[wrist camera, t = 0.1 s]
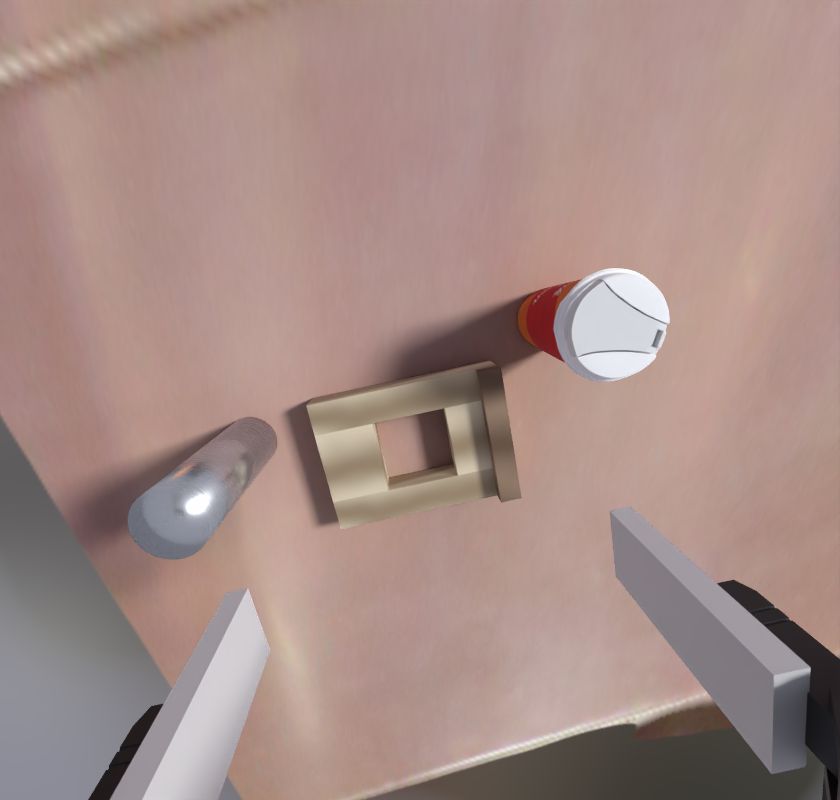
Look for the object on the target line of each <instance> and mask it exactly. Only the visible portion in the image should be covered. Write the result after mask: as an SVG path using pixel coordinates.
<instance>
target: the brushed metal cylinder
mask: <svg viewBox="0 0 840 800" xmlns="http://www.w3.org/2000/svg"><path fill="white" fill-rule="evenodd" d="M276 448H277V437H276V434H275V432H274V430H273V429H272V427H271V426H270V425H269V424H268V423H266V422H265V421H263V420H261V419H258V418H254V417H246V418H242V419H239V420H237V421H236V422H234V423H233V424H232V425H230V426H229V427H228V428H227V429H225V430H224V431H223V432H221V433H220V434H219V435H218V436H216V437H215V438H214V439H212V440H211V441H210V442H209V443H207V444H206V445H205V446H204V447H202V448H201V449H200V450H198V451H197V452H196V453H195V454H193V455H192V456H191V457H189V458H188V459H187V460H186V461H184V462H183V463H182V464H180V465H179V466H178V467H177V468H175V469H174V470H173V471H171V472H170V473H169V474H168V475H166V476H165V477H164V478H163V479H161V480H160V481H159V482H157V483H156V484H155V485H154V486H152V487H151V488H150V489H148V490H147V491H146V492H145V493H143V494H142V495H141V496H139V497H138V498H137V499H136V500H135V501H134V503H133V504H132V505H131V508H130V510H129V513H128V528H129V531H130V534H131V536H132V538H133V539H134V541H135V542H136V543H137V544H138V545H139V546H140V547H141V548H142V549H143V550H145V551H146V552H148V553H150V554H151V555H154V556H156V557H159V558H164V559H182V558H186V557H189V556H191V555H193V554H195V553H196V552H198V551H199V550H200V549H201V548H202V547H203V546H204V544H205V543H206V542H207V540H208V539H209V538H210V537H211V535H212V534H213V533H214V531H215V530H216V529H217V527H218V526H219V525H220V524H221V522H222V521H223V520H224V518H225V517H226V516H227V514H228V513H229V512H230V510H231V509H232V508H233V507H234V505H235V504H236V503H237V501H238V500H239V499H240V497H241V496H242V495H243V494H244V492H245V491H246V490H247V488H248V487H249V486H250V484H251V483H252V482H253V481H254V479H255V478H256V477H257V475H258V474H259V473H260V471H261V470H262V469H263V467H264V466H265V465H266V464H267V462H268V461H269V460H270V458H271V457H272V456H273V454H274V453H275V451H276Z"/></svg>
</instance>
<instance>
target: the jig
mask: <svg viewBox="0 0 840 800" xmlns="http://www.w3.org/2000/svg"><path fill="white" fill-rule="evenodd" d="M306 407H307V411H308V414H309V418H310V422H311V425H312V429H313V432H314V436H315V439H316V443H317V446H318V450H319V453H320V457H321V461H322V464H323V468H324V471H325V475H326V478H327V482H328V485H329V489H330V493H331V496H332V500H333V503H334V507H335V510H336V514H337V517H338V521H339V525H340V528H341V529H344V528H349V527H353V526H358V525H362V524H367V523H372V522H376V521H381V520H385V519H390V518H395V517H399V516H404V515H408V514H413V513H418V512H422V511H427V510H432V509H436V508H441V507H445V506H450V505H455V504H459V503H464V502H468V501H473V500H478V499H482V498H487V497H491V496H496V495H498V497H499V499H500V501H501V502H505V501H509V500H514V499H519V498H521V492H520V486H519V480H518V473H517V467H516V461H515V454H514V448H513V442H512V435H511V429H510V423H509V416H508V410H507V404H506V397H505V391H504V384H503V378H502V372H501V368H500V367H499V366H497V365H496V364H494V363H493V362H491V361H485V362H480V363H476V364H471V365H466V366H462V367H457V368H452V369H447V370H443V371H438V372H433V373H429V374H424V375H419V376H415V377H410V378H405V379H400V380H396V381H391V382H386V383H382V384H377V385H372V386H368V387H363V388H358V389H353V390H349V391H344V392H339V393H335V394H330V395H325V396H321V397H316V398H312V399H311V400H310V402H309V403H308V404H307V405H306ZM439 409H443V412H444V417H445V422H446V427H447V432H448V438H449V443H450V448H451V453H452V458H453V463H454V464H450V465H446V466H441V467H436V468H432V469H427V470H422V471H418V472H413V473H408V474H404V475H399V476H395V477H390V478H389V477H388V473H387V469H386V465H385V461H384V457H383V453H382V448H381V444H380V440H379V436H378V432H377V428H376V424H375V423H378V422H383V421H387V420H392V419H397V418H401V417H406V416H411V415H415V414H420V413H425V412H429V411H434V410H439Z"/></svg>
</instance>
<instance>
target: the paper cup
mask: <svg viewBox="0 0 840 800" xmlns="http://www.w3.org/2000/svg"><path fill="white" fill-rule="evenodd" d="M669 320H670V317H669V310H668V306H667V303H666V300H665V299H664V297H663V295H662V293H661V292H660V291H659V289H658V288H657V287H656V286H655V285H654V284H653V283H651V282H650V281H649V280H648V279H647V278H646V277H644V276H643V275H641V274H639V273H637V272H635V271H632V270H628V269H623V268H611V269H604V270H601V271H598V272H595V273H593V274H591V275H589V276H587V277H586V278H584V279H582V280H578V281H573V282H569V283H565V284H560V285H556V286H552V287H548V288H545V289H541V290H539V291H536V292H534V293H533V294H531V295H530V296H528V297H527V298H526V299H525V301H524V302H523V303H522V305H521V307H520V309H519V313H518V327H519V330H520V332H521V334H522V336H523V337H524V338H525V339H526V340H527V341H528V342H529V343H531V344H532V345H534V346H535V347H537V348H539V349H541V350H543V351H544V352H546V353H548V354H550V355H552V356H554V357H556V358H557V359H559V360H561V361H563V362H565V363H566V364H567V365H568V366H569V367H570V369H572V370H573V371H574V372H575V373H577V374H578V375H580V376H582V377H584V378H587V379H589V380H593V381H599V382H609V381H616V380H619V379H623V378H625V377H627V376H630V375H633V374H635V373H637V372H639V371H641V370H642V369H644V368H645V367H646V366H648V365H649V364H650V363H651V362H652V361H653V360H654V359H655V358H656V355H655V354H656V353H657V351H658V349H659V348H661V346H662V343H663V340H664V338H665V335H666V333H667V332H666V331H665V330H666V327H667V325H666V324H669Z"/></svg>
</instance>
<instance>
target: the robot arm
mask: <svg viewBox="0 0 840 800" xmlns="http://www.w3.org/2000/svg"><path fill="white" fill-rule="evenodd" d="M610 519H611V530H612V541H613V551H614V562H615V573H616V577H617V578H618V580H619V581H620V582H621V583H622V585H623V586H624V587H625V588H626V590H627V591H628V592H629V593H630V595H631V596H632V597H633V599H634V600H635V601H636V602H637V604H638V605H639V606H640V607H641V609H642V610H643V611H644V613H645V614H646V615H647V616H648V618H649V619H650V620H651V621H652V623H653V624H654V625H655V626H656V628H657V629H658V630H659V632H660V633H661V634H662V635H663V637H664V638H665V639H666V640H667V642H668V643H669V644H670V645H671V647H672V648H673V649H674V651H675V652H676V653H677V654H678V656H679V657H680V658H681V659H682V661H683V662H684V663H685V665H686V666H687V667H688V668H689V670H690V671H691V672H692V673H693V675H694V676H695V677H696V678H697V680H698V681H699V682H700V684H701V685H702V686H703V687H704V689H705V690H706V691H707V692H708V694H709V695H710V696H711V697H712V699H713V700H714V701H715V703H716V704H717V705H718V706H719V708H720V709H721V710H722V711H723V713H724V714H725V715H726V717H727V718H728V719H729V720H730V722H731V723H732V724H733V725H734V727H735V728H736V729H737V730H738V732H739V733H740V734H741V735H742V737H743V738H744V739H745V741H746V742H747V743H748V744H749V746H750V747H751V748H752V749H753V751H754V752H755V753H756V755H757V756H758V757H759V758H760V759H761V761H762V762H763V763H764V765H765V766H766V767H767V768H768V770H769V771H770V772H771V774H774V773H778V772H783V771H788V770H792V769H797V768H802V767H805V766H806V752H807V747H808V748H809V749H810V750H811V751H812V752H813V753H814V754H815V755H816V756H817V758H818V759H819V760H820V761H821V762H822V763H823V764H824V765H825V768H824V782H823V783H824V784H823V798H822V800H840V659H839V658H838V657H836V656H835V655H834V654H833V653H831V652H830V651H829V650H828V649H827V648H825V647H824V646H823V645H822V644H820V643H819V642H818V641H817V640H816V639H814V638H813V637H812V636H811V635H809V634H808V633H807V632H806V631H804V630H803V629H802V628H801V627H800V626H798V625H797V624H796V623H795V622H793V621H790V620H789V617H787V616H786V615H785V614H784V613H782V612H781V611H780V610H779V609H778V608H775V607H774V605H773V604H771V603H770V602H769V601H768V600H767V599H765V598H764V597H763V596H762V595H760V594H759V593H758V592H757V591H755V590H753V589H751V588H749V587H747V586H745V585H743V584H741V583H739V582H737V581H735V580H731V581H726V582H721V583H716V582H715V581H713V580H712V579H711V578H710V577H709V576H708V575H707V574H706V573H704V572H703V571H702V570H701V569H700V568H699V567H698V566H697V565H696V564H694V563H693V562H692V561H691V560H690V559H689V558H688V557H687V556H685V555H684V554H683V553H682V552H681V551H680V550H679V549H678V548H676V547H675V546H674V545H673V544H672V543H671V542H670V541H669V540H668V539H666V538H665V537H664V536H663V535H662V534H661V533H660V532H659V531H657V530H656V529H655V528H654V527H653V526H652V525H651V524H650V523H649V522H647V521H646V520H645V519H644V518H643V517H642V516H641V515H640V514H638V513H637V512H636V511H635V510H634V509H633V508H632V507H626V508H621V509H617V510H612V511H610ZM269 652H270V648H269V646H268V643H267V640H266V637H265V634H264V632H263V629H262V626H261V623H260V621H259V618H258V615H257V612H256V609H255V607H254V604H253V601H252V598H251V595H250V593H249V590H248V588H246V589H241V590H236V591H231V592H227V593H226V594H225V596H224V598H223V600H222V601H221V603H220V605H219V607H218V609H217V610H216V612H215V614H214V616H213V617H212V619H211V621H210V623H209V625H208V626H207V628H206V630H205V632H204V633H203V635H202V637H201V639H200V641H199V642H198V644H197V646H196V648H195V649H194V651H193V653H192V655H191V656H190V658H189V660H188V662H187V664H186V665H185V667H184V669H183V671H182V672H181V674H180V676H179V678H178V680H177V681H176V683H175V685H174V687H173V688H172V690H171V692H170V694H169V696H168V698H167V699H166V701H165V703H164V704H160V705H155V706H151V707H150V708H149V709H148V710H147V711H146V713H145V714H144V715H143V716H142V717H141V718H140V719H139V720H138V721H137V722H136V723H135V725H134V726H133V727H132V729H131V730H130V732H129V734H128V735H127V737H126V739H125V740H124V742H123V743H122V745H121V747H120V751H119V752H117V753H116V755H115V757H114V758H113V760H112V762H111V763H110V765H109V769H108V770H106V771H105V773H104V775H103V776H102V778H101V780H100V781H99V783H98V785H97V786H96V788H95V790H94V791H93V793H92V794H91V796H90V798H89V799H88V800H218V798H219V795H220V792H221V790H222V787H223V784H224V781H225V778H226V775H227V772H228V770H229V767H230V764H231V761H232V758H233V755H234V752H235V750H236V747H237V744H238V741H239V738H240V735H241V732H242V729H243V727H244V724H245V721H246V718H247V715H248V712H249V709H250V707H251V704H252V701H253V698H254V695H255V692H256V689H257V686H258V684H259V681H260V678H261V675H262V672H263V669H264V666H265V664H266V661H267V658H268V655H269Z"/></svg>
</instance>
